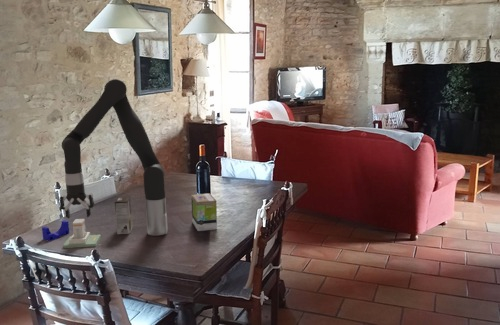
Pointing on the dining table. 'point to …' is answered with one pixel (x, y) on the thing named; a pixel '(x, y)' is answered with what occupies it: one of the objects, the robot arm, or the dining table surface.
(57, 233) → the blue arch block
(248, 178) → the dining table surface
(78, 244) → the board
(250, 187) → the dining table surface
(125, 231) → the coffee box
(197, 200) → the tea box
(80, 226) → the plug
